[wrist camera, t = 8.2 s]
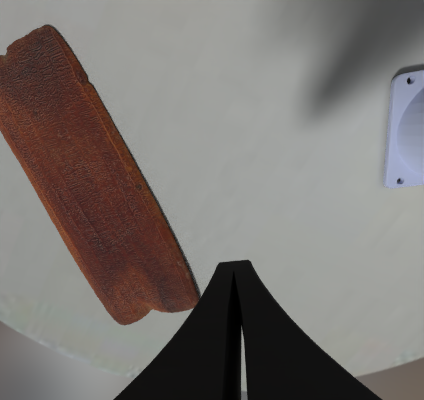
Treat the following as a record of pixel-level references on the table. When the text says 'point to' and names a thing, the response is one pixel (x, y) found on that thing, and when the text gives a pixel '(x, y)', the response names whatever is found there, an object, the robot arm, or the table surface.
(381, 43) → the table surface
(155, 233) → the wooden tablet
